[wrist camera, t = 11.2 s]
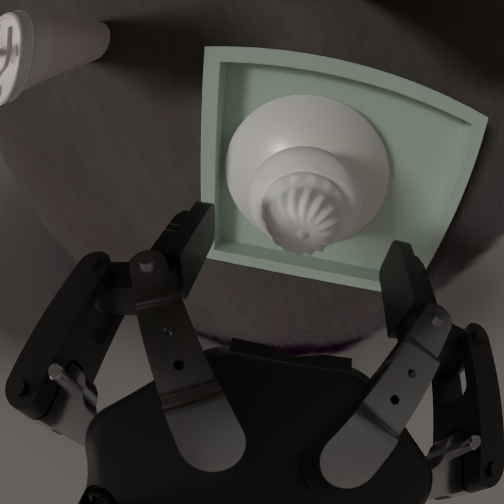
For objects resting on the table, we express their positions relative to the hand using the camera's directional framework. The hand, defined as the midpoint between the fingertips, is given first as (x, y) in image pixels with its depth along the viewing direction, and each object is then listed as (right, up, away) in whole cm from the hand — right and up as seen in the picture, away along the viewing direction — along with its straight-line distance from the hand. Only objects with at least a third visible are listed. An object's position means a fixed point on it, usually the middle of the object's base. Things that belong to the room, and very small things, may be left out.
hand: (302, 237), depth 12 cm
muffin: (+1, +4, +6) cm, 7 cm away
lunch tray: (+4, +5, +7) cm, 9 cm away
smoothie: (-15, +17, +3) cm, 22 cm away
